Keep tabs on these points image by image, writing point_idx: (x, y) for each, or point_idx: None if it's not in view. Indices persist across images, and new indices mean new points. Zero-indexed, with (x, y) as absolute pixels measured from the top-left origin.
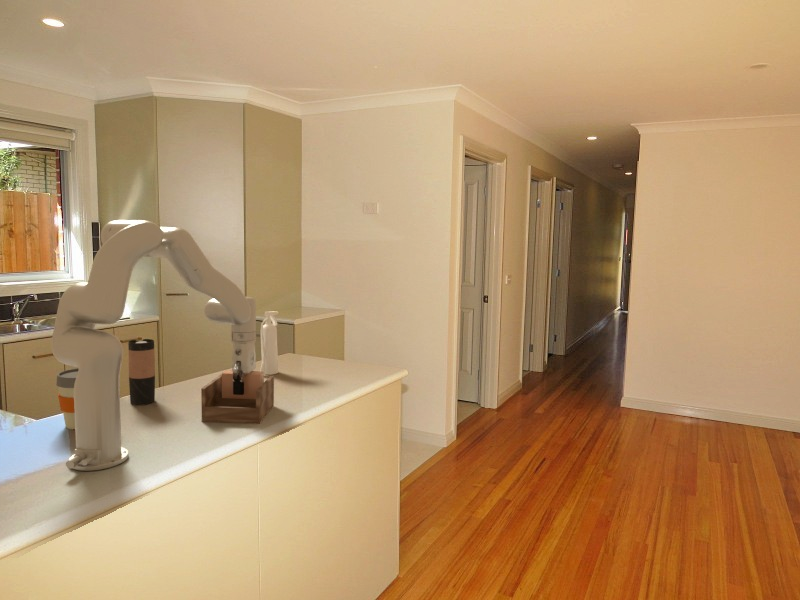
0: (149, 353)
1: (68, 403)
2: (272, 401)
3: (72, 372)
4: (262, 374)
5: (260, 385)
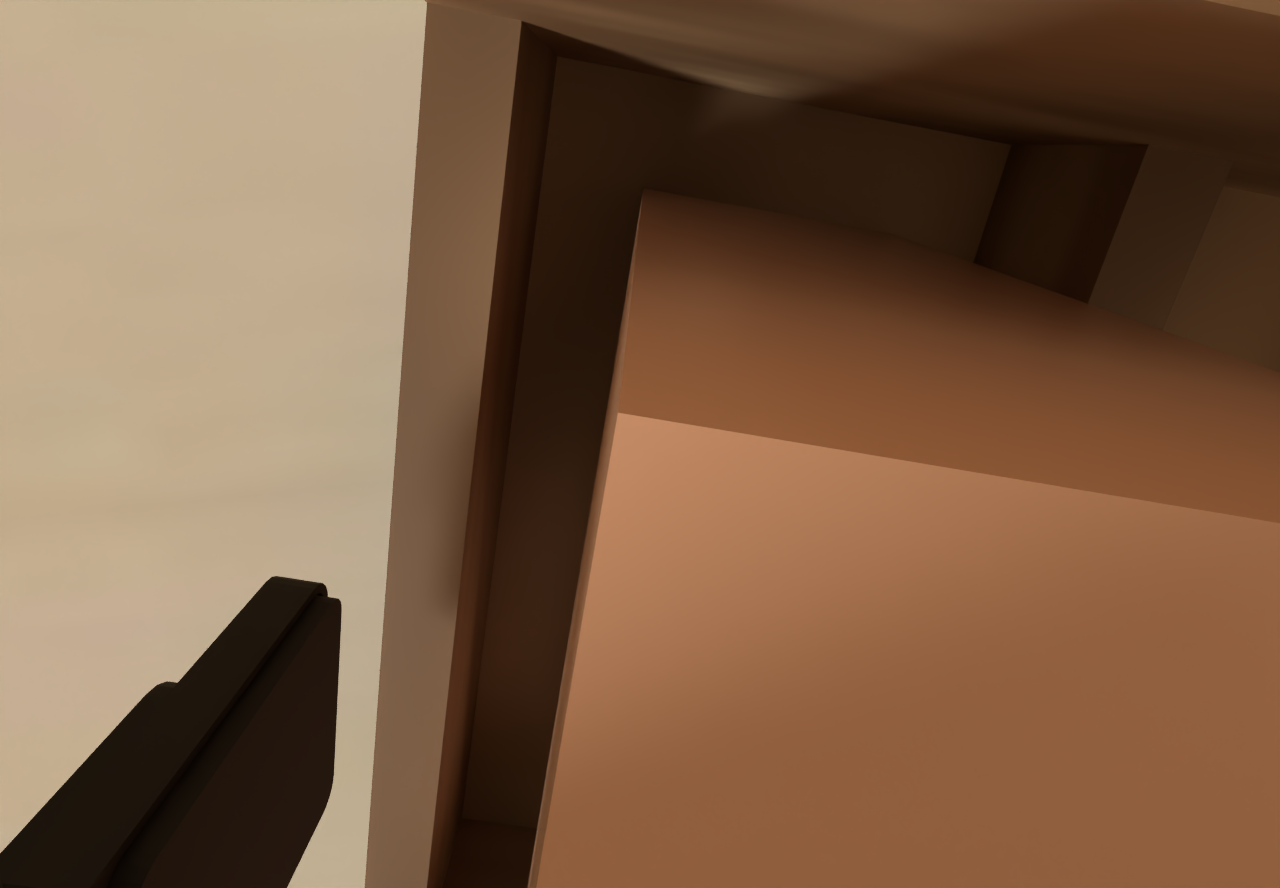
0: None
1: None
2: None
3: None
4: (1082, 434)
5: (1189, 343)
